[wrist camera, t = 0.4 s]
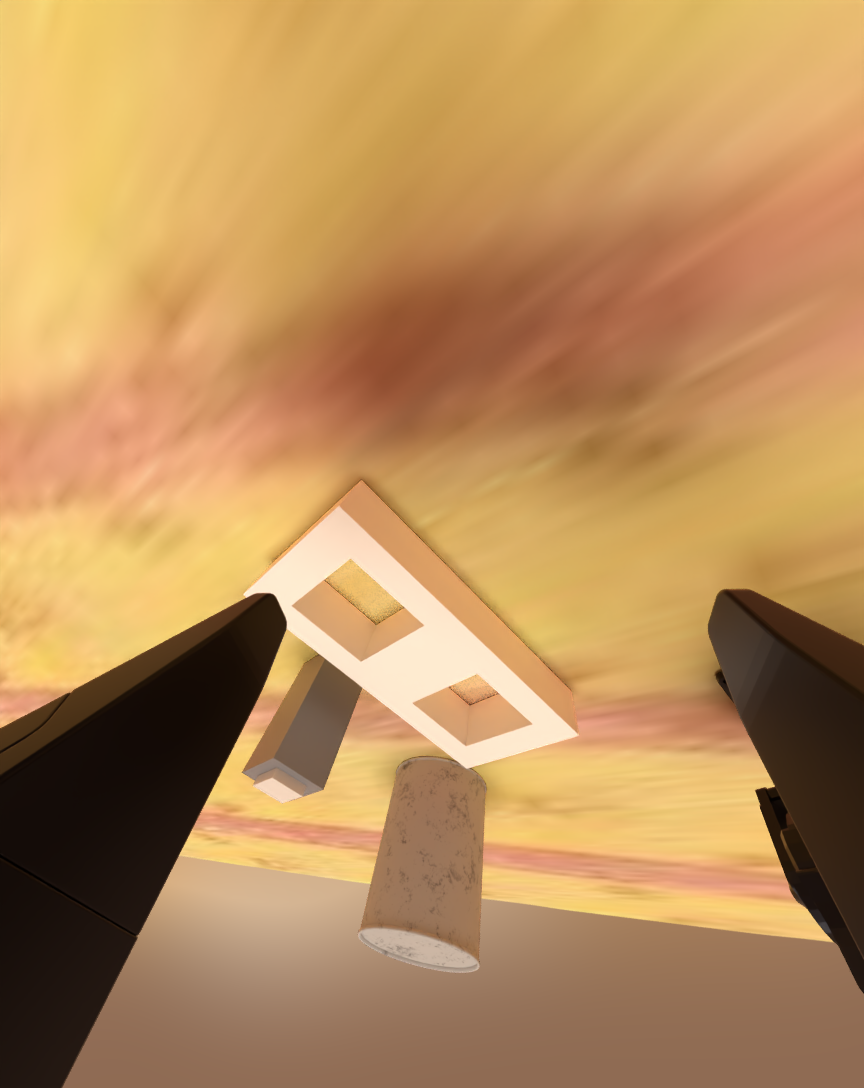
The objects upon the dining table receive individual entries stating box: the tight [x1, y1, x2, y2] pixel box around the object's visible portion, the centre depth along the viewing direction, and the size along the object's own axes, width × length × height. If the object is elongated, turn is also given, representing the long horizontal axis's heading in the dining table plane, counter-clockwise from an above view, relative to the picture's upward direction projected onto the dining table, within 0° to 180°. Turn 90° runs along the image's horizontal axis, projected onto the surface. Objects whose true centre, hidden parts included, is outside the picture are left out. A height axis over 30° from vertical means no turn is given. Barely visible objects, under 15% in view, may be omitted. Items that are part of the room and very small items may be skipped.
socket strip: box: [243, 480, 579, 769], centre depth 26 cm, size 22×10×4 cm, turn 43°
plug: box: [242, 654, 362, 803], centre depth 27 cm, size 4×4×10 cm
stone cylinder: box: [358, 756, 486, 973], centre depth 33 cm, size 10×10×12 cm
